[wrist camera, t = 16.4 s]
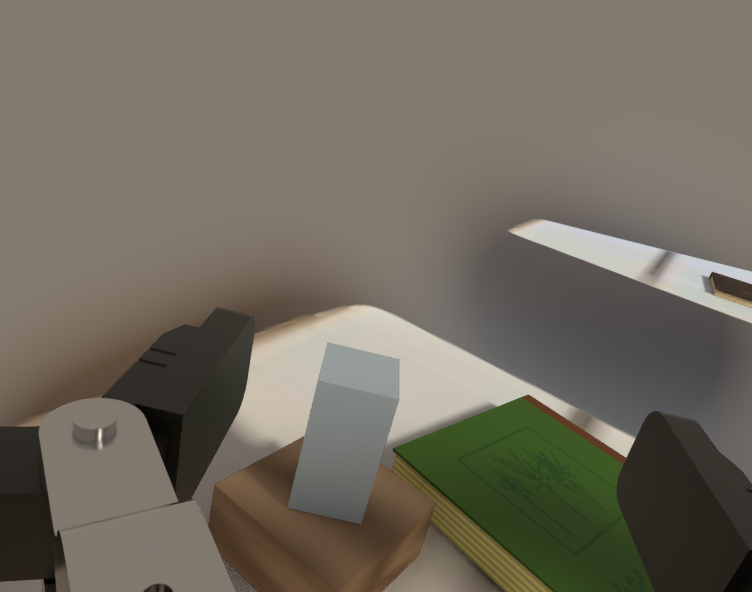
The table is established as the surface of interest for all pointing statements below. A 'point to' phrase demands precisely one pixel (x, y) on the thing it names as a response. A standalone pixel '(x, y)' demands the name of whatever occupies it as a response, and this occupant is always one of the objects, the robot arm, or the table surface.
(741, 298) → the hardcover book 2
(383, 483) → the base brick
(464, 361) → the table surface
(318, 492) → the top brick
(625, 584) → the hardcover book
